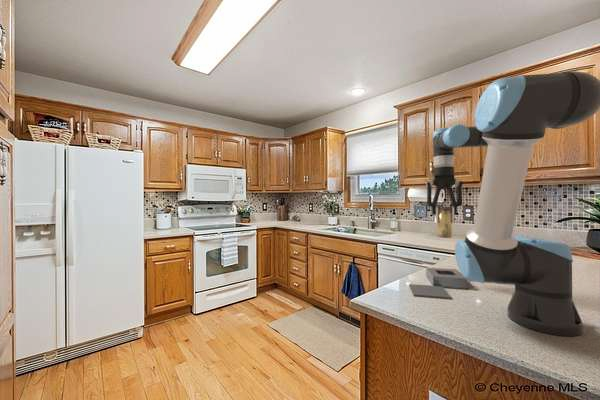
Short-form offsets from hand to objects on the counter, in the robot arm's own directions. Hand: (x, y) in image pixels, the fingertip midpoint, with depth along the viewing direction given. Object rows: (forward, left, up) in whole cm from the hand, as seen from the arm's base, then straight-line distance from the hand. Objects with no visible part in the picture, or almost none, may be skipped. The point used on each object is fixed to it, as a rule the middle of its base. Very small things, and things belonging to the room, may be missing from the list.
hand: (444, 222), depth 108 cm
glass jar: (0, 0, -6) cm, 6 cm away
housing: (0, 0, -25) cm, 25 cm away
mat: (-14, +9, -25) cm, 30 cm away
